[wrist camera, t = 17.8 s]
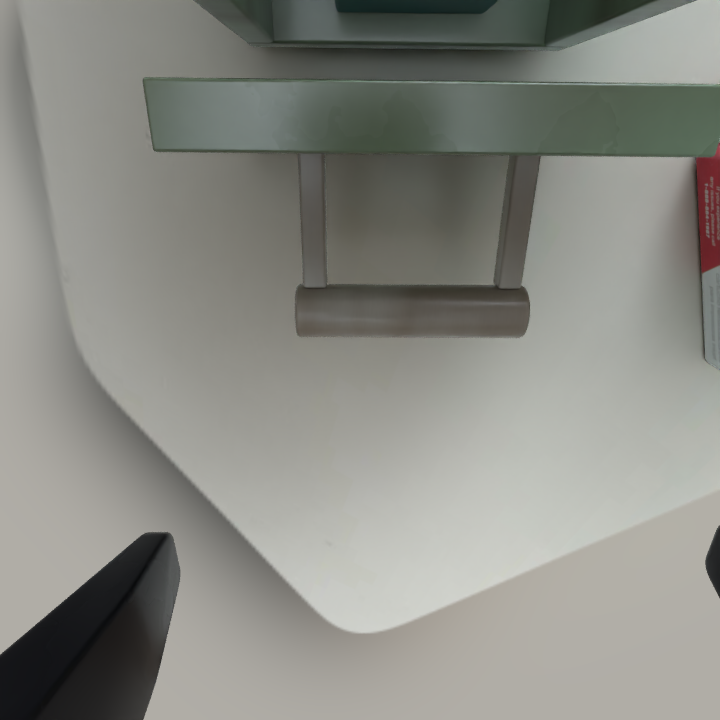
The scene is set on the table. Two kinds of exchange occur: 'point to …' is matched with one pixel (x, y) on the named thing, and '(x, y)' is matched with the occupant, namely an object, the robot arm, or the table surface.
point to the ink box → (710, 251)
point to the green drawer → (428, 135)
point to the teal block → (415, 6)
